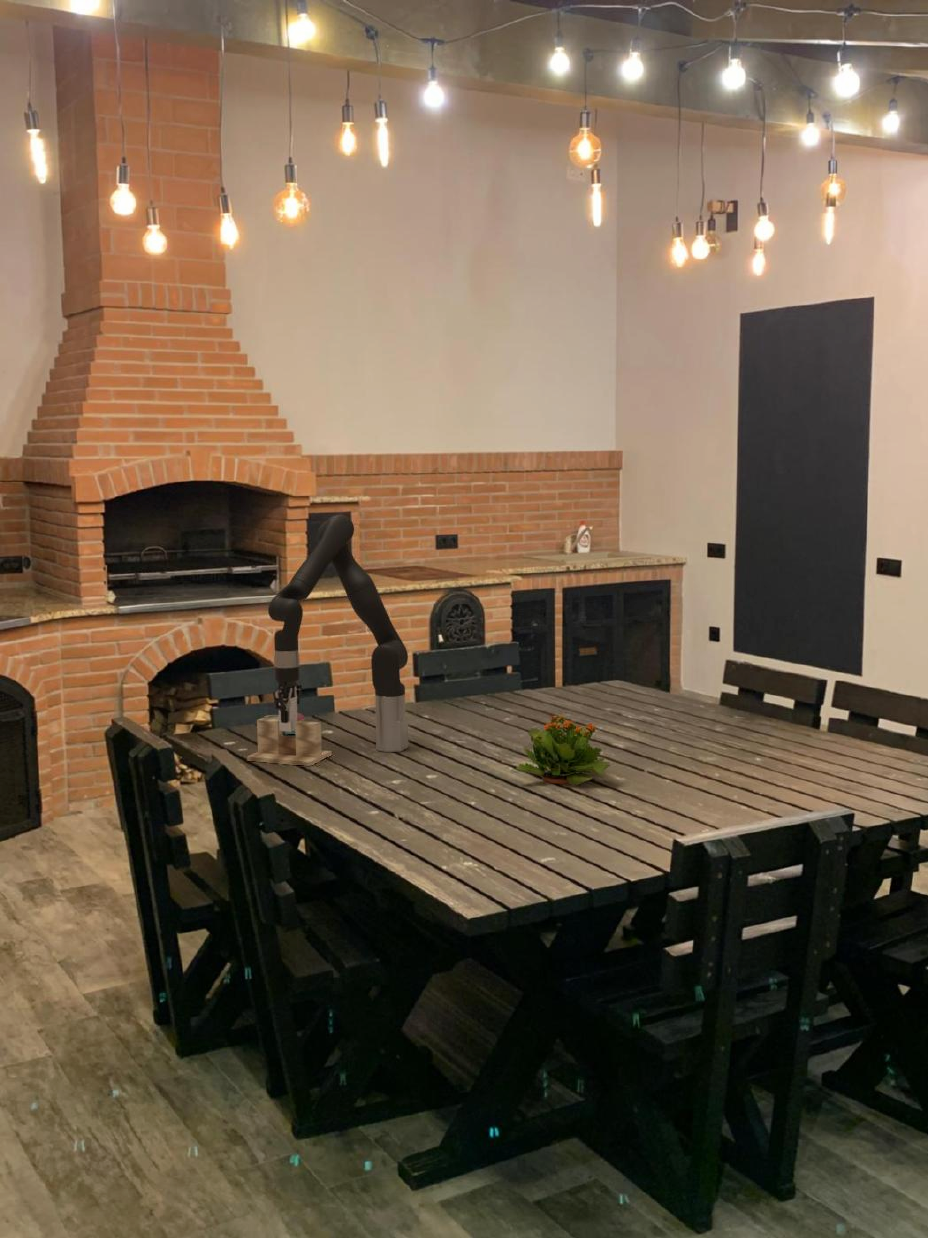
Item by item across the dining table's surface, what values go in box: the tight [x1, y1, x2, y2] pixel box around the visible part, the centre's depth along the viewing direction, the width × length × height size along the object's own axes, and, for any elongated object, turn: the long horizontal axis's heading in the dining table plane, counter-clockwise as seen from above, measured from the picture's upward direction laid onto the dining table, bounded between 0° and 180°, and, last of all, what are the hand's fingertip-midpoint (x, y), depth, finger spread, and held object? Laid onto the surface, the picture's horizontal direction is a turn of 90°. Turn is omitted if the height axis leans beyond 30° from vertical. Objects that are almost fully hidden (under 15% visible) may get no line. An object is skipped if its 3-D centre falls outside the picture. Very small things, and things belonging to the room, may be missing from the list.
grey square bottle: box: [278, 696, 298, 732], centre depth 370 cm, size 4×4×13 cm
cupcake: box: [283, 711, 306, 735], centre depth 406 cm, size 9×8×12 cm
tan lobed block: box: [246, 714, 333, 766], centre depth 371 cm, size 21×14×12 cm, turn 69°
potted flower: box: [516, 715, 612, 787], centre depth 344 cm, size 25×24×18 cm
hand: (288, 720), depth 371 cm, fingers closed on grey square bottle, 4 cm apart
